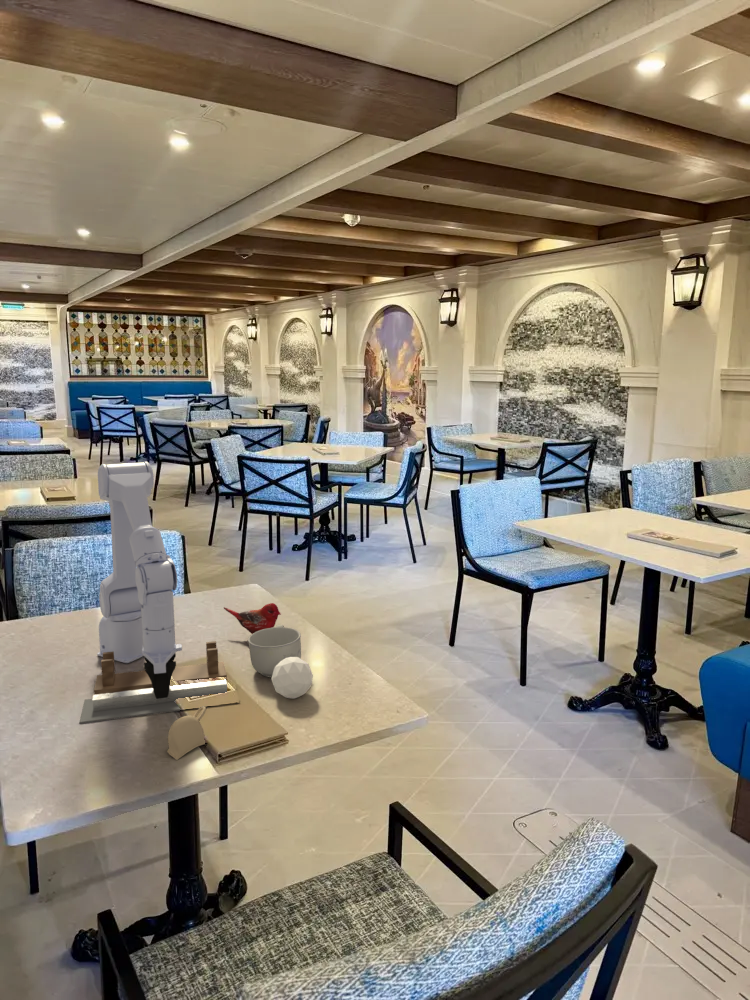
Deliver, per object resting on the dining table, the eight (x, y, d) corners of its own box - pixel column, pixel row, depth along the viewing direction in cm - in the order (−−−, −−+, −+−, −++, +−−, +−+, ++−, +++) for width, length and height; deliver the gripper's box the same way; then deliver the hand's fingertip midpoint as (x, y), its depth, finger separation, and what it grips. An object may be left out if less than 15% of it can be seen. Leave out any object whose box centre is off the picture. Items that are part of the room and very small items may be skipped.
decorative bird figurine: (277, 649, 156) (276, 606, 154) (219, 633, 165) (218, 593, 163) (285, 645, 158) (284, 603, 156) (228, 630, 167) (227, 590, 166)
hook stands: (94, 695, 133) (92, 664, 132) (97, 680, 139) (95, 651, 138) (226, 679, 140) (225, 650, 139) (223, 666, 147) (222, 638, 145)
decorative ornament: (160, 752, 113) (158, 722, 112) (201, 732, 120) (199, 703, 119) (175, 761, 111) (174, 730, 110) (216, 739, 117) (215, 710, 116)
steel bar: (93, 711, 126) (92, 700, 125) (94, 705, 128) (93, 694, 127) (227, 694, 133) (227, 683, 132) (226, 689, 135) (226, 679, 134)
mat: (79, 723, 122) (79, 722, 122) (84, 701, 130) (84, 699, 130) (240, 703, 130) (240, 701, 130) (235, 683, 138) (235, 681, 138)
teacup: (291, 684, 138) (291, 647, 137) (240, 679, 140) (239, 642, 139) (312, 657, 151) (311, 622, 150) (265, 653, 154) (264, 619, 152)
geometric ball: (303, 707, 134) (327, 680, 132) (272, 706, 129) (295, 677, 126) (289, 677, 139) (311, 650, 137) (257, 674, 133) (280, 646, 131)
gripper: (182, 637, 122) (185, 708, 124) (179, 610, 136) (182, 675, 138) (139, 641, 120) (143, 714, 122) (142, 614, 133) (145, 679, 136)
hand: (161, 694), depth 130 cm, fingers closed on steel bar, 2 cm apart
